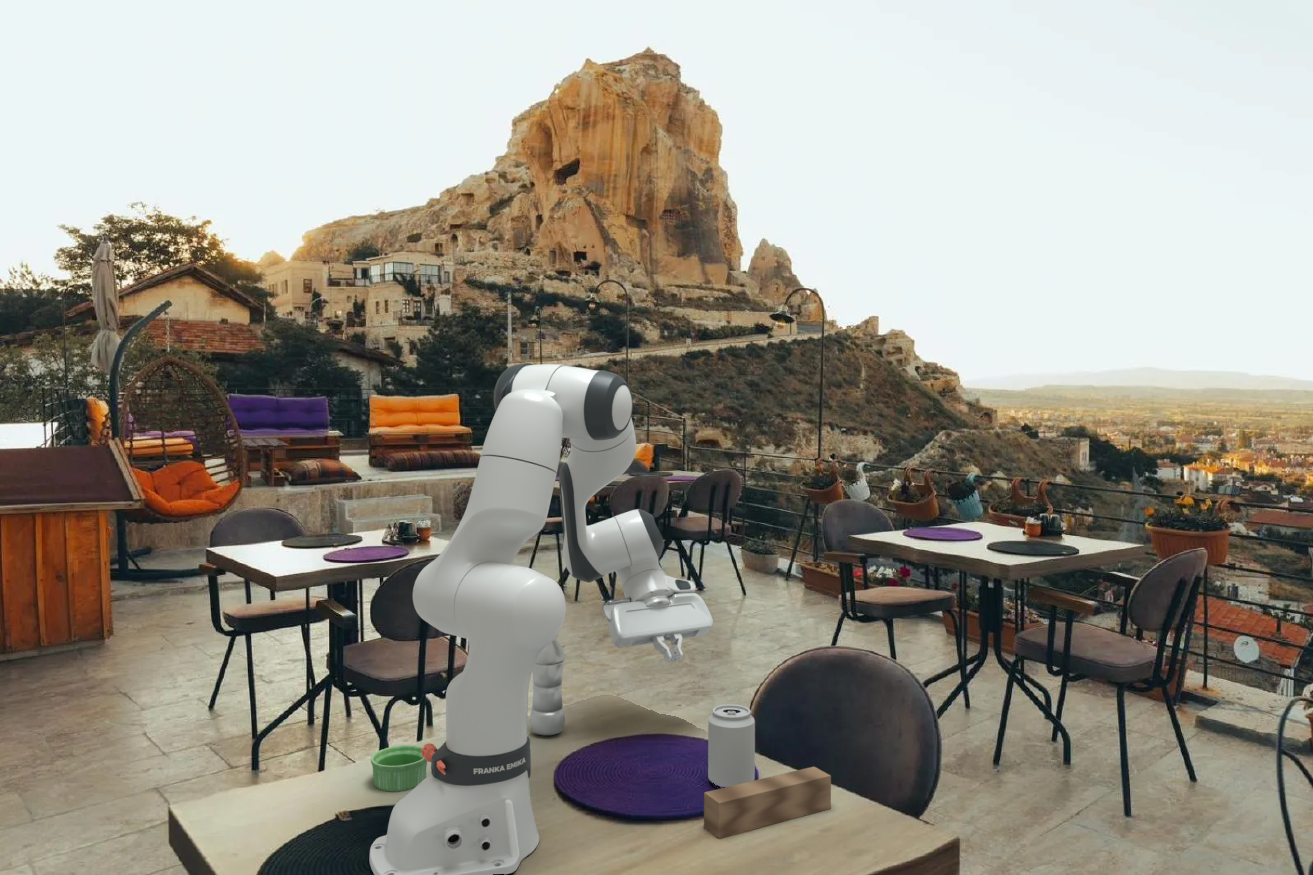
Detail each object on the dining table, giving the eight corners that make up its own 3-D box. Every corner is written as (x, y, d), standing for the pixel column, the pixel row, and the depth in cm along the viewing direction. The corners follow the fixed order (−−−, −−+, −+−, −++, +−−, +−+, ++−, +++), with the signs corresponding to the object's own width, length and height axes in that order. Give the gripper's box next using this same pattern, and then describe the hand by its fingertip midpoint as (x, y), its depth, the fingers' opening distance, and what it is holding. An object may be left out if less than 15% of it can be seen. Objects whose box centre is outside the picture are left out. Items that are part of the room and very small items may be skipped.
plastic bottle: (552, 724, 167) (552, 621, 167) (571, 734, 162) (571, 627, 162) (523, 732, 163) (523, 626, 163) (542, 742, 158) (542, 633, 157)
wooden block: (719, 838, 121) (719, 803, 121) (703, 827, 125) (704, 792, 125) (830, 808, 131) (830, 775, 131) (813, 798, 134) (814, 766, 134)
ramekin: (358, 789, 138) (358, 761, 138) (393, 768, 146) (393, 742, 146) (407, 797, 135) (407, 769, 135) (439, 775, 143) (439, 748, 143)
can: (754, 774, 144) (754, 702, 143) (755, 793, 136) (755, 717, 136) (709, 772, 144) (709, 701, 144) (707, 791, 137) (707, 716, 137)
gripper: (604, 591, 158) (629, 658, 149) (700, 581, 167) (728, 642, 159) (594, 611, 162) (617, 677, 153) (689, 599, 171) (715, 661, 163)
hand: (675, 659), depth 156 cm, fingers closed
